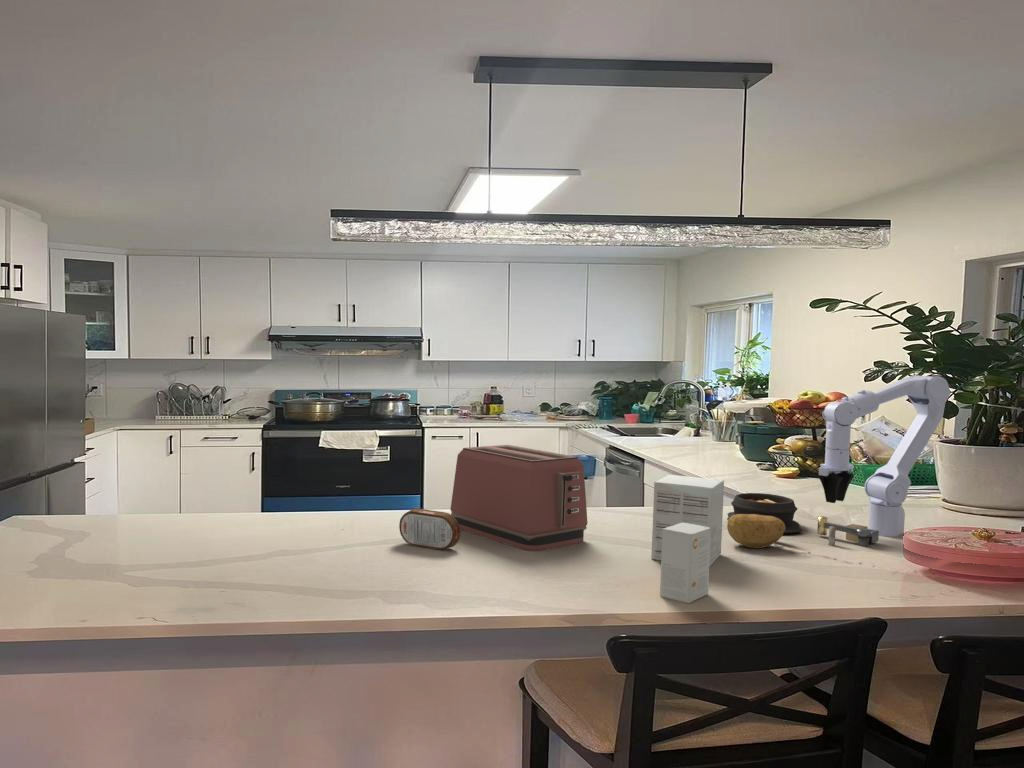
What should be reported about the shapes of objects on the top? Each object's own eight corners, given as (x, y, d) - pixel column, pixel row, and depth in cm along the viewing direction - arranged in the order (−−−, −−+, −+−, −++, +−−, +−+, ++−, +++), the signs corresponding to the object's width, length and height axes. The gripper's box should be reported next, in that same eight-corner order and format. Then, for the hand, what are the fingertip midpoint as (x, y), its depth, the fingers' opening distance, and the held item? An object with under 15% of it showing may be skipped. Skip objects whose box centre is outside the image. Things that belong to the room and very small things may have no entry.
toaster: (536, 554, 177) (539, 464, 176) (447, 526, 203) (450, 447, 202) (595, 543, 189) (598, 458, 188) (504, 517, 215) (507, 443, 214)
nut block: (852, 538, 198) (853, 523, 198) (866, 540, 196) (867, 526, 195) (845, 539, 196) (846, 525, 196) (860, 542, 193) (860, 528, 193)
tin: (460, 550, 179) (461, 513, 178) (453, 553, 176) (454, 515, 175) (404, 541, 185) (405, 506, 185) (396, 544, 182) (397, 508, 182)
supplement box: (665, 546, 188) (668, 473, 187) (721, 554, 182) (725, 479, 181) (649, 559, 176) (652, 481, 175) (709, 568, 170) (712, 487, 169)
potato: (792, 552, 186) (793, 519, 186) (734, 551, 185) (735, 518, 185) (775, 542, 196) (776, 510, 195) (719, 541, 195) (721, 509, 194)
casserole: (819, 540, 200) (821, 507, 200) (750, 540, 197) (751, 507, 197) (773, 518, 225) (775, 489, 224) (711, 518, 222) (712, 489, 222)
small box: (679, 587, 155) (682, 521, 155) (709, 594, 151) (712, 527, 151) (658, 596, 149) (661, 528, 149) (689, 604, 145) (692, 533, 144)
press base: (825, 534, 206) (826, 513, 206) (902, 550, 192) (903, 527, 191) (794, 542, 196) (795, 521, 195) (873, 560, 181) (874, 536, 181)
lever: (828, 531, 203) (829, 513, 203) (880, 541, 193) (881, 523, 193) (814, 534, 198) (815, 517, 198) (867, 545, 188) (868, 527, 188)
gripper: (836, 445, 209) (833, 496, 210) (808, 448, 200) (806, 501, 200) (862, 448, 204) (859, 500, 205) (835, 451, 195) (832, 506, 195)
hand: (834, 501), depth 202 cm, fingers open, 4 cm apart
